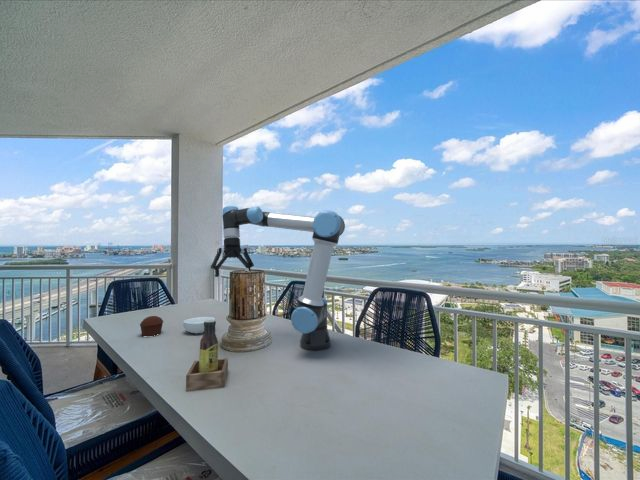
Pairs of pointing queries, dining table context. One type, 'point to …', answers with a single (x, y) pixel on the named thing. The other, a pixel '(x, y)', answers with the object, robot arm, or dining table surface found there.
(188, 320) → the cereal bowl
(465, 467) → the dining table surface
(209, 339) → the sauce bottle
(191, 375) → the wooden open tray
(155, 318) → the muffin
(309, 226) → the robot arm
